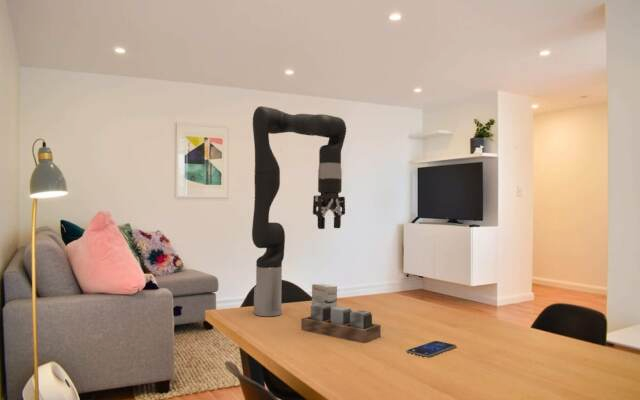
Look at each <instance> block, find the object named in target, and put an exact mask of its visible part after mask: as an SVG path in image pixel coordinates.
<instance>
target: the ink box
mask: <svg viewBox="0 0 640 400" xmlns="http://www.w3.org/2000/svg"><path fill="white" fill-rule="evenodd" d="M316 304H325V305H331V308H335V307H338V306H337V305H338V286H337V285H331V284H324V283H312V284H311V306H312V305H316Z"/></svg>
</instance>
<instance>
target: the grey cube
mask: <svg viewBox="0 0 640 400" xmlns="http://www.w3.org/2000/svg"><path fill="white" fill-rule="evenodd" d="M350 312H352V308H351V307H345V306H337V307H335V308H331V323H332V324H338V325H345V324H348V323H350Z"/></svg>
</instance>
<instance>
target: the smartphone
mask: <svg viewBox="0 0 640 400" xmlns="http://www.w3.org/2000/svg"><path fill="white" fill-rule="evenodd" d="M454 348H455V349H457V345H456V344H453V343H447V342H444V341H438V340H433V341H430V342H427V343H424V344H420V345H418V346H415V347H413V348H409V349H406V351H405V353H406V352H407V354H409V353H411V354H410V355H413V354H417V355H418V357H420V356H422V357H421V358H424V357H430V358H433V357H435V356H434V355H436V356H438V355H441V354H443V352H444V353H446V351H447V352H449V351H452V350H455V349H454ZM440 353H441V354H440ZM432 356H433V357H432Z"/></svg>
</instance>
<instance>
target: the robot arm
mask: <svg viewBox="0 0 640 400" xmlns="http://www.w3.org/2000/svg"><path fill="white" fill-rule="evenodd" d="M252 131H253V132H252V133H253V143H254V201H253V203H254V204H253V205H254V207H253V217H252V228H251V238H252V239H251V240H252V242H253V245H254V246H255V247H256V248H258V249H266V250H265V252H264V254H263V255H261V256H259V257H258V258H257V259H256V262H255V263H256V264H255V267H256V269H255V270H256V271H255V273H256V274H255V275H256V278H255V281H256V282H255V287H253V314H255V315H257V316H260V317H276V316H280V315H281V314H282V289H283V288H282V287H283V286H282V284H283V283H282V279H283V277H282V276H283V275H282V273H283V272H282V271H283V269H282V267H283V260H284V257H285V247H286V246H285V244H286V233H285V229H284V226H283V225H282V224H281V223H280V222H270V220H269V217H270V209H271V206H272V204H273V202H274V200H275V198H276V197H277V194H278V192H279V189H280V186H281V174H280V173H281V170H280V165H279V163H278V160H277V157H275V154H274V153H273V151H272V148H271V145H270V138H269V137H270V136H269V134H272V135H277V134H282V133H283V134H285V133H294V134H298V135H303V136H304V135H305V136H316V137H323V138H328V142H327V144H324V145H322V146H320V148H319V151H318V152H319V153H318V156H319V158H318V170H317V177H318V179H317V191H318V193H319V194H320V195H313V198H312V199H313V202H312V203H313V205H312V214H313V215H315V216H316V217H317V229H319V230H325V228H326V227H325V226H326V218H325V216H326V214H327V212H329V210H330V212H331V213H332V214H333V228H334V229H341V225H342V224H341V223H342V222H341V220H342V216H344V215H345V214H346V198H345V196H339V194H340V193H342V185H343V183H342V182H343V181H342V177H343V176H342V174H343V173H342V161H341V160H342V150H343V146H344V143H345V137H346V134H347V126H346V122H345V120H344V119H343V118H341V117H339V116H333V115H329V114H324V113H323V114H321V113H320V114H319V113H318V114H310V113H297V114H291V113H286V112H284V111H281V110H279V109H277V108H273V107H268V106H267V107H266V106H262V105H261V106H258V107H256V109H254V112H253V117H252Z"/></svg>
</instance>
